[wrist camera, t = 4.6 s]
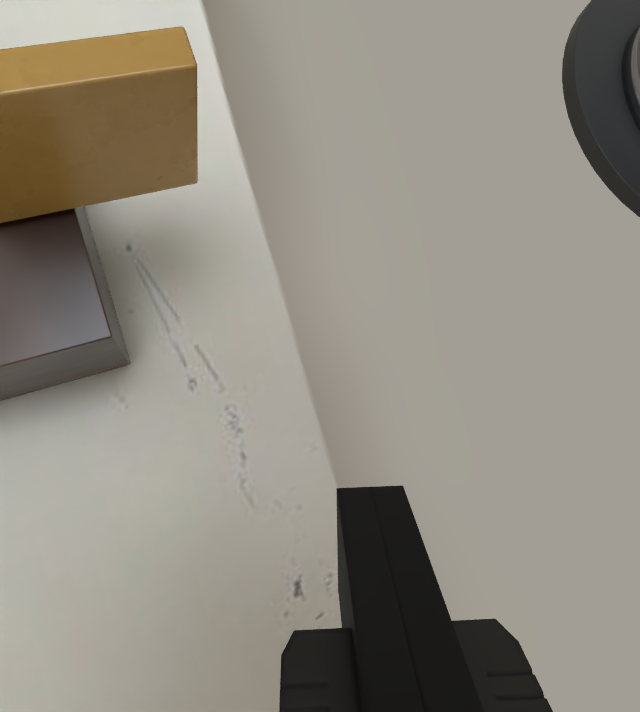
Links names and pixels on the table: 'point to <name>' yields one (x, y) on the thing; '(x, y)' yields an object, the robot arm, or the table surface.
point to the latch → (96, 121)
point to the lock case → (54, 304)
